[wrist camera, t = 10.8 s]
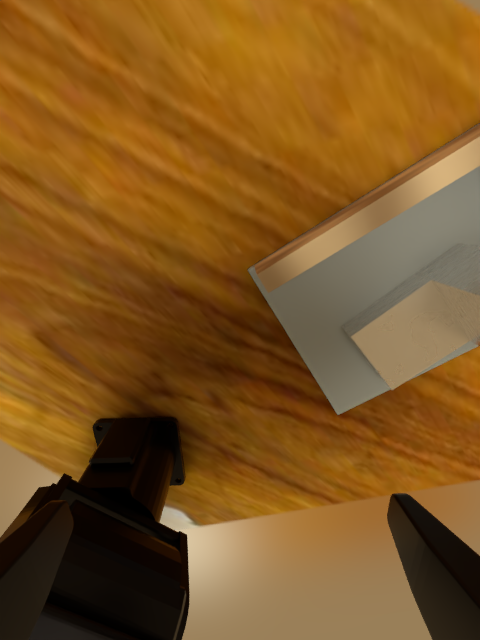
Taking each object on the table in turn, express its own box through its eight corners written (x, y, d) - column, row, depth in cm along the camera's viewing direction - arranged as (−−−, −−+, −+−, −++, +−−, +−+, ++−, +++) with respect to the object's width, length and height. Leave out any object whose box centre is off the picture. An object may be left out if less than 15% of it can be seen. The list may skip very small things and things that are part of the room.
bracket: (379, 376, 21) (517, 531, 11) (341, 326, 20) (454, 447, 9) (492, 302, 19) (791, 403, 9) (457, 243, 18) (758, 277, 7)
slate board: (335, 411, 23) (337, 415, 22) (247, 268, 19) (247, 270, 18) (549, 305, 20) (556, 307, 19) (493, 114, 16) (501, 111, 16)
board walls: (323, 379, 22) (339, 408, 18) (253, 264, 19) (256, 274, 16) (530, 271, 19) (591, 283, 16) (484, 119, 16) (547, 94, 13)
